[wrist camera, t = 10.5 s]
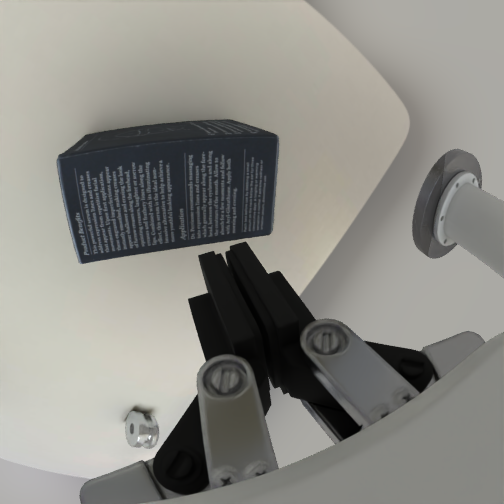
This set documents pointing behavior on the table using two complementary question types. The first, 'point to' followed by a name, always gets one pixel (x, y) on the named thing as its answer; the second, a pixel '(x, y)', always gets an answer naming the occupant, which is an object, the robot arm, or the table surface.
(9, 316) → the table surface
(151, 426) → the grooved metal pulley
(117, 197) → the box
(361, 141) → the table surface
